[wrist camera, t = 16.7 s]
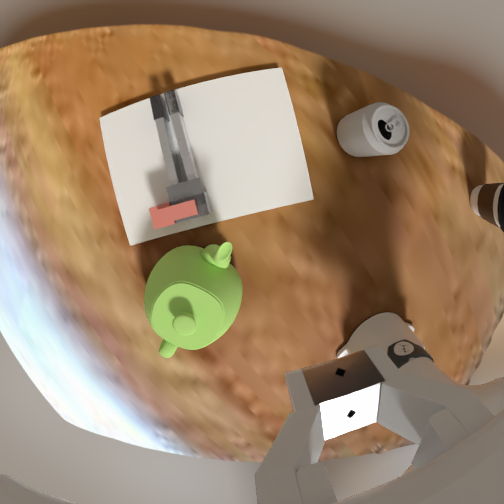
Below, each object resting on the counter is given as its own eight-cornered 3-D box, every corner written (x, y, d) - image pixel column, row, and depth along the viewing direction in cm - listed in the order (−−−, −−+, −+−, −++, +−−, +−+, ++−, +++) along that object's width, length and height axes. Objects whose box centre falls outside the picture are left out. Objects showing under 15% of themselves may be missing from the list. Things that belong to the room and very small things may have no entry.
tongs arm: (201, 181, 40) (198, 181, 36) (191, 184, 40) (188, 185, 36) (178, 96, 36) (173, 89, 32) (169, 99, 36) (163, 92, 32)
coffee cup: (459, 216, 46) (498, 227, 35) (468, 168, 44) (507, 172, 32) (483, 228, 48) (519, 240, 36) (492, 185, 45) (528, 191, 34)
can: (326, 125, 40) (357, 110, 29) (360, 108, 40) (397, 92, 28) (348, 164, 42) (385, 163, 31) (380, 146, 42) (421, 141, 30)
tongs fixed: (211, 209, 41) (209, 214, 37) (181, 217, 41) (175, 223, 37) (184, 95, 36) (178, 86, 32) (154, 105, 36) (145, 97, 32)
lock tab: (203, 212, 41) (199, 217, 36) (163, 223, 41) (153, 230, 36) (198, 193, 40) (193, 195, 35) (157, 204, 40) (147, 209, 35)
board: (311, 198, 43) (313, 199, 42) (133, 243, 43) (130, 245, 42) (280, 70, 37) (281, 67, 36) (103, 119, 37) (99, 117, 36)
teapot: (189, 200, 42) (173, 211, 30) (271, 247, 45) (287, 275, 33) (136, 309, 46) (111, 350, 34) (208, 346, 49) (203, 394, 37)
